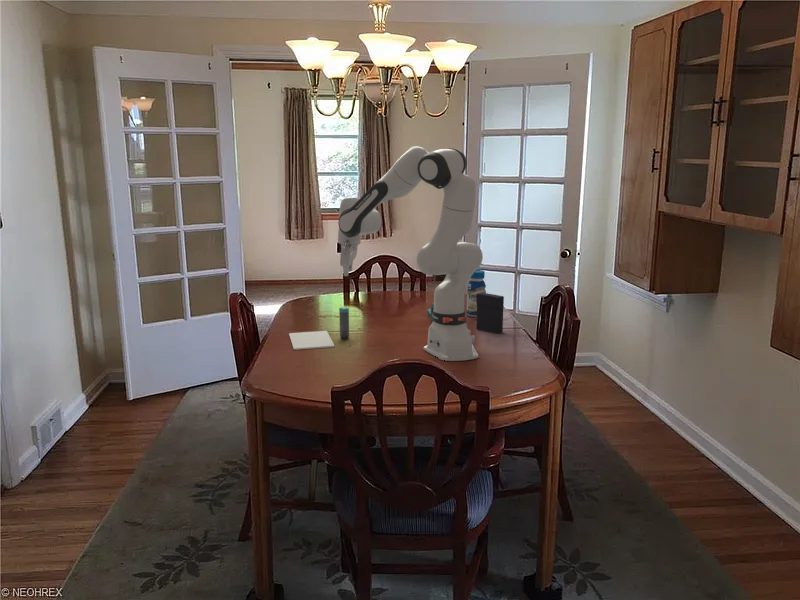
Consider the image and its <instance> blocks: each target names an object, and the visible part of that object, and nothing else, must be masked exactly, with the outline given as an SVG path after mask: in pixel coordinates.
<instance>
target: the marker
mask: <svg viewBox="0 0 800 600" xmlns="http://www.w3.org/2000/svg"><path fill="white" fill-rule="evenodd" d="M338 311H339V312H338V313H339V337H340V340H349V339H350V338H349V337H350V313H349V312H350V308H349V307H339V310H338Z"/></svg>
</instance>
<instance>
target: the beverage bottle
mask: <svg viewBox="0 0 800 600" xmlns="http://www.w3.org/2000/svg"><path fill="white" fill-rule="evenodd" d="M485 275H486V274H485V270H483V269H476V270H475V272H474V273H473V274H472V276H471V277H470V279H469V282H468V284H467V287H466V316H469V317H475V318H477V303H476V296H477V294H478V293H487V291H486V288H487V284H486V282H485V281H484V279H485Z"/></svg>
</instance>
